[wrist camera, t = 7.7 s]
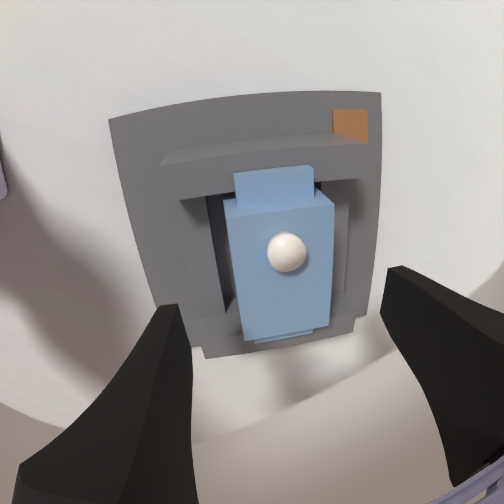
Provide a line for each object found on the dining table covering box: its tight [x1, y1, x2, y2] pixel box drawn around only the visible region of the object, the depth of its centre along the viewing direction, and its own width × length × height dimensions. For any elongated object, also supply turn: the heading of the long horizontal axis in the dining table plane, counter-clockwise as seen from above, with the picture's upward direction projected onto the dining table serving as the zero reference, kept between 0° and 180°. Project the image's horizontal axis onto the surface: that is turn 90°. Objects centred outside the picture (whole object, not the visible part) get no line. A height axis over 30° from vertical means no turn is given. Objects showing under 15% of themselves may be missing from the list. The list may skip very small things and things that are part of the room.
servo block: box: [222, 165, 334, 344], centre depth 14 cm, size 4×8×6 cm, turn 6°
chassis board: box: [108, 91, 382, 359], centre depth 16 cm, size 14×15×4 cm
